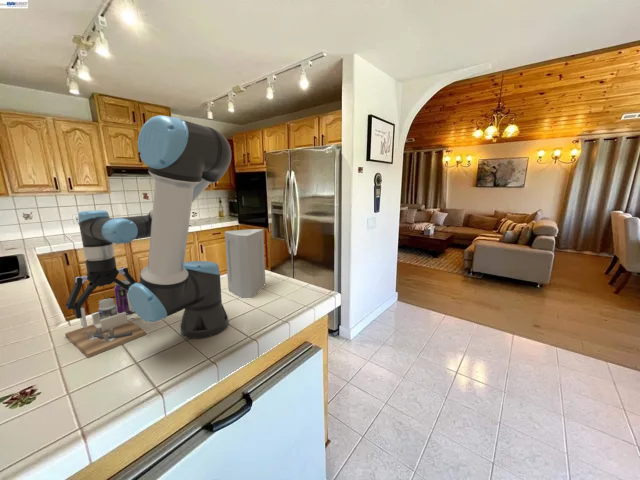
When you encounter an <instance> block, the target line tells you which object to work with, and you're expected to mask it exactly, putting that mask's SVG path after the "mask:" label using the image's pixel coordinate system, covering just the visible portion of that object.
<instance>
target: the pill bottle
mask: <svg viewBox="0 0 640 480" xmlns="http://www.w3.org/2000/svg"><path fill="white" fill-rule="evenodd" d="M98 306H99V307H98V312H99V316H100V320H101V319H104V318H107V317H110V316H113V315H117V309H116V307H117V304H116V303H115V299H114V298H111V297H109V298H104V299H101V300H99V301H98Z"/></svg>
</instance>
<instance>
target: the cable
mask: <svg viewBox="0 0 640 480" xmlns="http://www.w3.org/2000/svg"><path fill="white" fill-rule="evenodd" d="M131 335H132V332H129V333H123V334H118V335H113V336H108V337H109V339H111V338H115V339H116V338H121V337H126V336H131ZM93 336H94V337H97V338H98V339H104V337H103V335H98V329H97V330H96V332H95V333H94V335H93Z"/></svg>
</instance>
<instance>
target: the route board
mask: <svg viewBox="0 0 640 480" xmlns="http://www.w3.org/2000/svg"><path fill="white" fill-rule="evenodd" d="M127 322H128V323H127V324H124V325H122V326H119V327H116V328H113V329H109V330H108V331H105V332H102V328H101V327H99V328H97V327H95V326H94V325H93V323H92V324H90V325H87V327H86V328H84V327H80V328H77V329H74V330H72V331H68V332H65V334H64V336H65V338H66V339H67V338H68V341H69V342H70V343H72V344H73V345H74V346H75V348H77V349H78V350H79V351H80V352H81V353H82V354H84V355H85V356H86V358H88V359H89V358H92V357H94V356H97V355H99V354H100V353H104V352H106V351H108V350H111V349H114V348H116V347H119V346H121V345H123V344H126V343H129V342H131V341H133V340H136V339H138V338H141V337H143V336H145V335H147V331H146V330H145V329H143V328H142V327H140V326H138V325H137V324H135V323H133V322H131V321H130V320H128V319H127ZM97 329H98V335H103V337H104V339H98V338H97V337H94V336H93V335H94V333H95V332H96V330H97ZM129 332H132V335H131V336H126V337H121V338H116V339H115V338H111V339H109V337H108V336H113V335H118V334H123V333H129Z"/></svg>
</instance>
